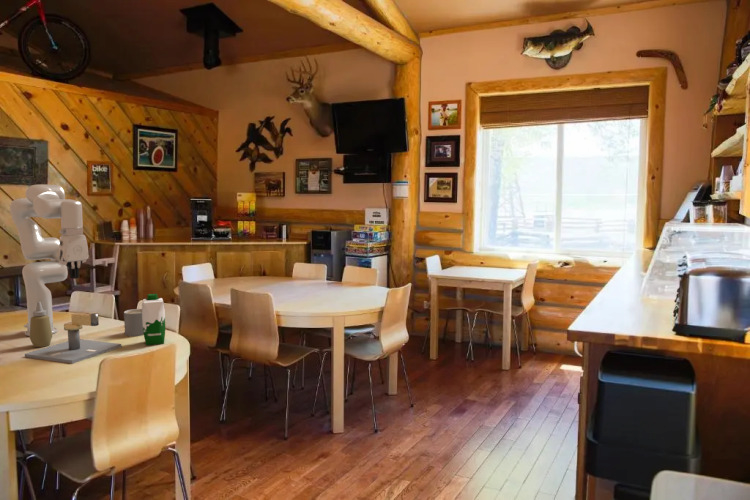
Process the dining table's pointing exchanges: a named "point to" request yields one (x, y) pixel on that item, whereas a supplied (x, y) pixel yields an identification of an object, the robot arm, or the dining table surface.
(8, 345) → the dining table surface
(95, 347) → the post base
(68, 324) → the tan piece
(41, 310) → the squeeze bottle
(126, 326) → the coffee mug
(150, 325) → the milk carton
